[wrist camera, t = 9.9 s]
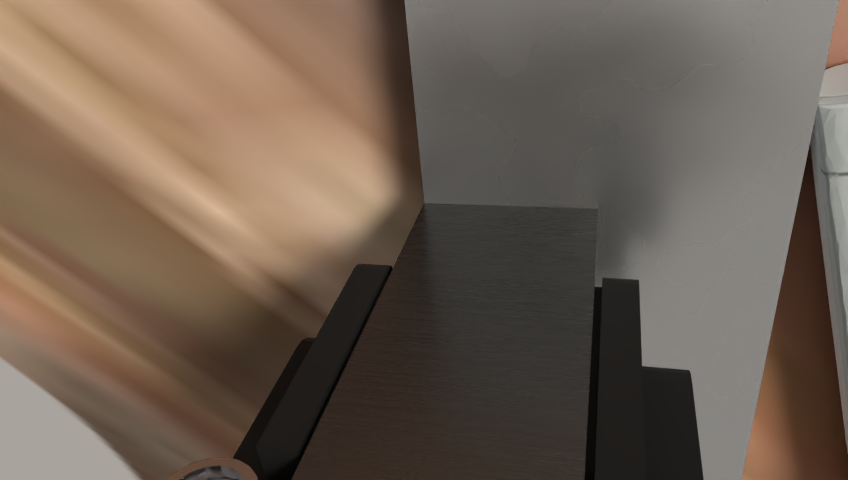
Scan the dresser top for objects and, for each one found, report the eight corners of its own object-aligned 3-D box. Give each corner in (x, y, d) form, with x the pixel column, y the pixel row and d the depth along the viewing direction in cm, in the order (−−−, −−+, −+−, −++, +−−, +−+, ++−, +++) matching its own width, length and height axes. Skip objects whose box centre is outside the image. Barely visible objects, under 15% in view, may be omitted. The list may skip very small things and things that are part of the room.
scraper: (463, 484, 18) (350, 980, 10) (407, -153, 11) (-85, -36, 3) (720, 517, 16) (804, 1120, 9) (854, -194, 9) (1837, -153, 2)
